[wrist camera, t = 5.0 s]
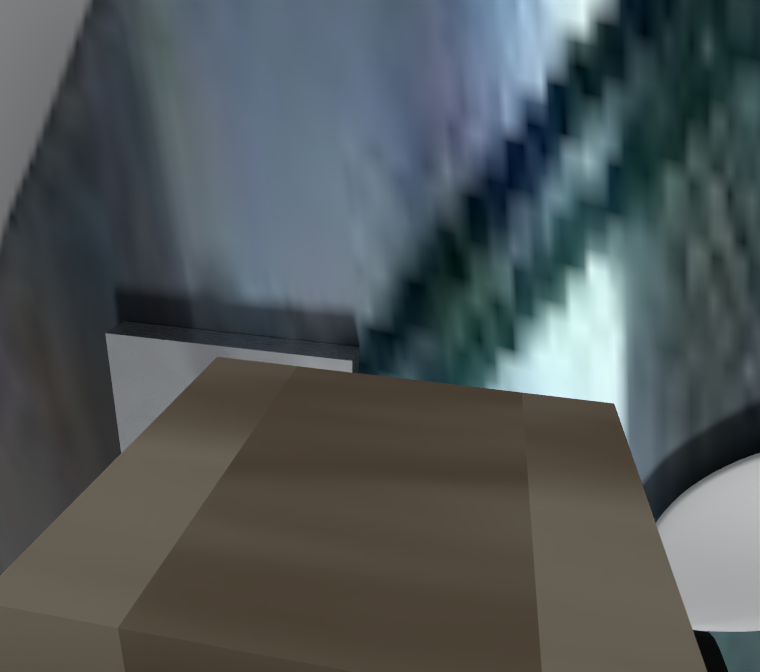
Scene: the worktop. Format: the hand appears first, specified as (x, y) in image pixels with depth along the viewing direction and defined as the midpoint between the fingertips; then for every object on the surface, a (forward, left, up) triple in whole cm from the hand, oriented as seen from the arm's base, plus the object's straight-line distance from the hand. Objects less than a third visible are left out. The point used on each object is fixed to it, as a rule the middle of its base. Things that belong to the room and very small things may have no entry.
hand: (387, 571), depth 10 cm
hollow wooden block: (0, 0, -1) cm, 1 cm away
